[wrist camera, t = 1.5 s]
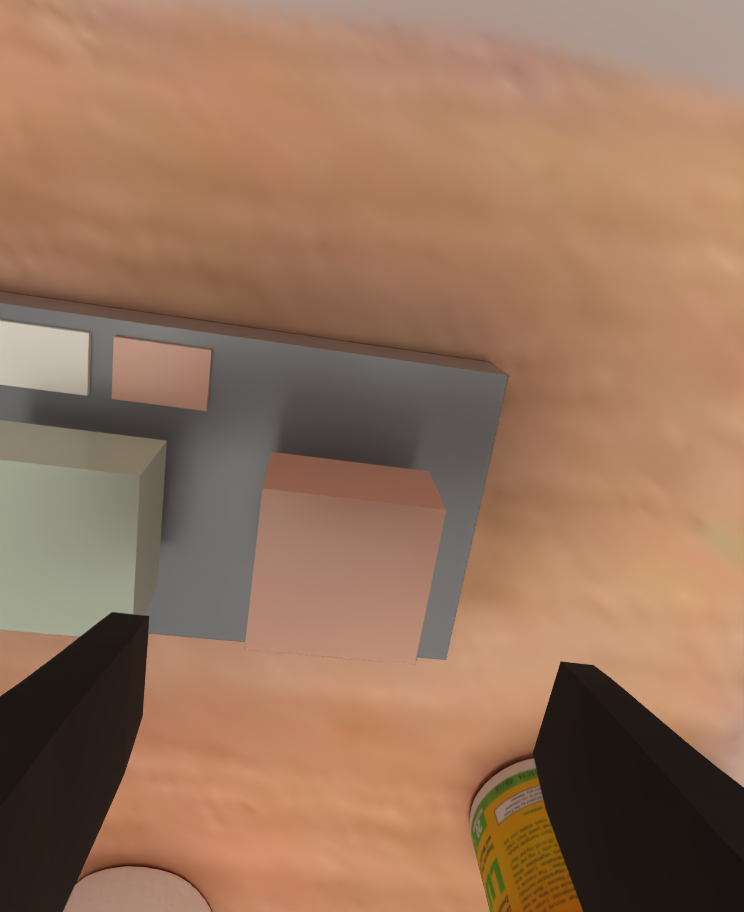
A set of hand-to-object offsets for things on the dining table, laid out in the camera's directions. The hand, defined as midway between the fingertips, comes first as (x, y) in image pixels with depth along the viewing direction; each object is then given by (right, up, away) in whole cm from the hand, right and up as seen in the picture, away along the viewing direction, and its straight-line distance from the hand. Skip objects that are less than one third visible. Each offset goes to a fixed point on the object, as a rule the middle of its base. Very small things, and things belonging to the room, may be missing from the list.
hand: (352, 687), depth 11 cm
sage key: (-7, +3, +5) cm, 9 cm away
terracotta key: (0, +2, +6) cm, 6 cm away
